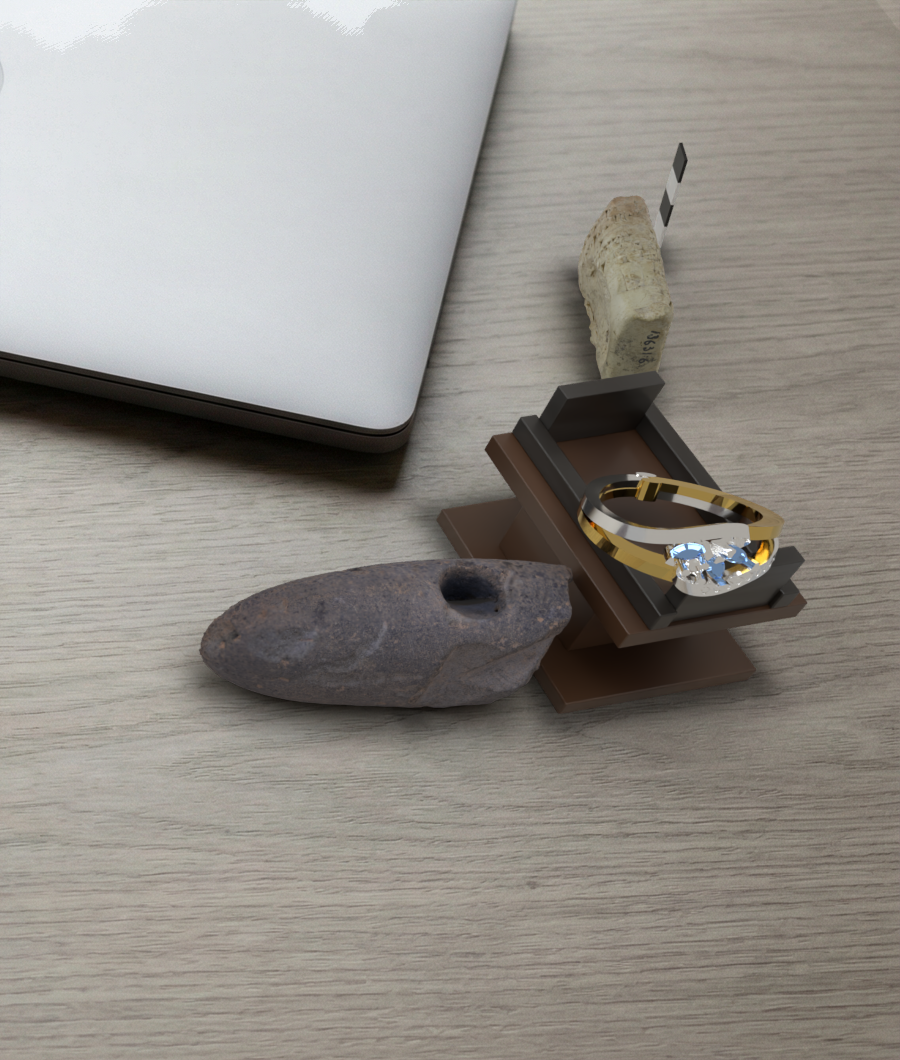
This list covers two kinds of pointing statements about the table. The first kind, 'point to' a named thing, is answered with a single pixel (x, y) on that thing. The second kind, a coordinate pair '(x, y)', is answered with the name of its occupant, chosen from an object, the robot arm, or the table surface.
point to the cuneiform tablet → (629, 281)
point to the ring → (683, 533)
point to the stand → (600, 580)
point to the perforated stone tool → (395, 633)
